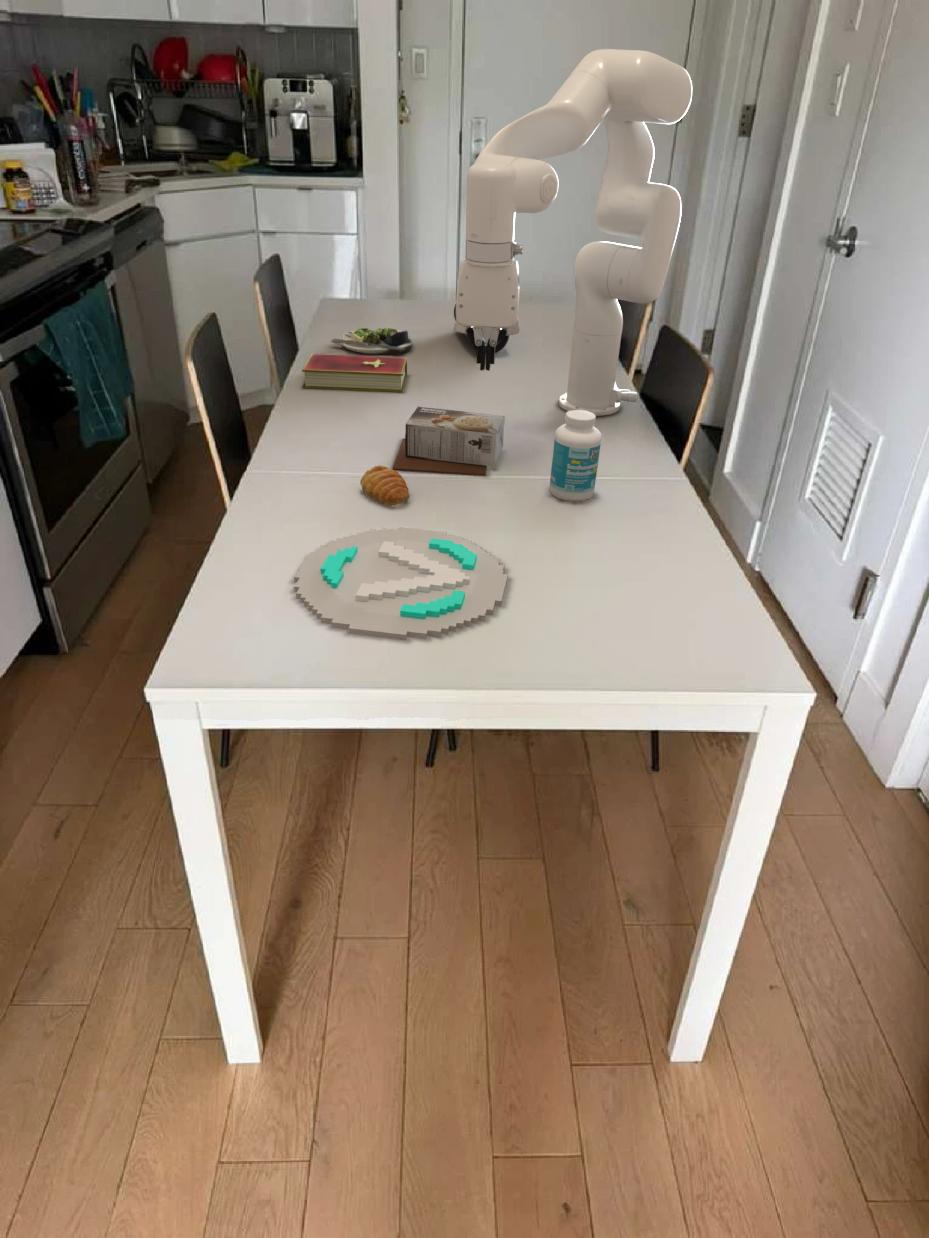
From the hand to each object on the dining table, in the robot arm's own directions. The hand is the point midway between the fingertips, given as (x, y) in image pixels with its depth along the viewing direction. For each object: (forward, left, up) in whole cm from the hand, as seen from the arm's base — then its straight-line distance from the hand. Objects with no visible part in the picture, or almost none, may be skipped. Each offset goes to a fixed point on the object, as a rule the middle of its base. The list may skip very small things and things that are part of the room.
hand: (485, 367), depth 148 cm
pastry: (+14, +17, -17) cm, 28 cm away
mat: (+7, 0, -16) cm, 18 cm away
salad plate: (+28, -67, -17) cm, 74 cm away
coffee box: (-3, 0, -13) cm, 13 cm away
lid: (+8, +44, -17) cm, 48 cm away
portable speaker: (+4, -75, -17) cm, 76 cm away
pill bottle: (-16, +12, -17) cm, 26 cm away
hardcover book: (+29, -39, -17) cm, 51 cm away
